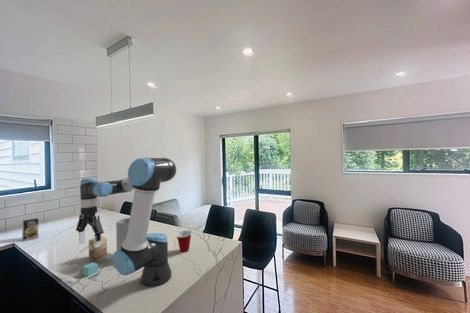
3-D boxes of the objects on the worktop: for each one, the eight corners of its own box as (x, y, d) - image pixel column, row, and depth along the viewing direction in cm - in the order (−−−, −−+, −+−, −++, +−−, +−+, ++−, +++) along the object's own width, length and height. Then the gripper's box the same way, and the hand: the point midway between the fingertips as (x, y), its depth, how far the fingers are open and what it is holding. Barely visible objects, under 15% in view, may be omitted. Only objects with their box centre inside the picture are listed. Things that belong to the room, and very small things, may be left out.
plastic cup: (173, 251, 145) (172, 233, 146) (186, 246, 154) (185, 229, 154) (182, 255, 138) (181, 236, 139) (195, 250, 146) (195, 232, 147)
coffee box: (23, 241, 173) (23, 221, 173) (22, 239, 177) (22, 220, 177) (38, 238, 180) (38, 218, 180) (37, 236, 184) (36, 217, 184)
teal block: (98, 274, 117) (97, 263, 117) (88, 279, 112) (88, 268, 113) (92, 273, 119) (92, 262, 119) (82, 277, 115) (82, 266, 115)
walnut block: (106, 256, 137) (106, 246, 137) (95, 260, 131) (95, 251, 131) (100, 254, 140) (99, 245, 140) (88, 258, 134) (88, 249, 134)
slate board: (119, 258, 137) (119, 255, 137) (90, 271, 121) (90, 268, 121) (101, 253, 145) (101, 251, 145) (72, 265, 128) (72, 263, 128)
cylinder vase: (133, 254, 142) (132, 216, 143) (142, 259, 134) (142, 219, 135) (113, 261, 133) (112, 221, 133) (122, 267, 125) (121, 224, 125)
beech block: (106, 246, 137) (106, 237, 137) (95, 251, 131) (95, 241, 131) (99, 245, 140) (99, 236, 140) (88, 249, 134) (88, 239, 134)
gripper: (110, 206, 115) (111, 245, 114) (82, 203, 125) (83, 240, 125) (96, 209, 108) (97, 251, 108) (68, 206, 119) (68, 244, 118)
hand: (89, 245), depth 116 cm, fingers open, 13 cm apart
